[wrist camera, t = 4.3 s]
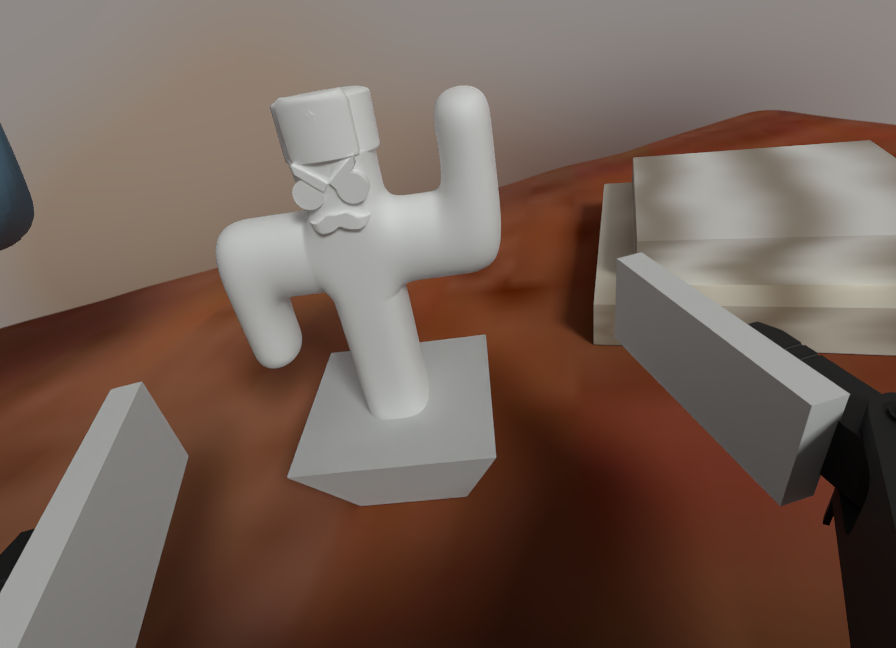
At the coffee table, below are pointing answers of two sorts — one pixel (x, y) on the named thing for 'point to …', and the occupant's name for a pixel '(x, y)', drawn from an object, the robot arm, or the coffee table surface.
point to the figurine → (375, 297)
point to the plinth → (766, 238)
